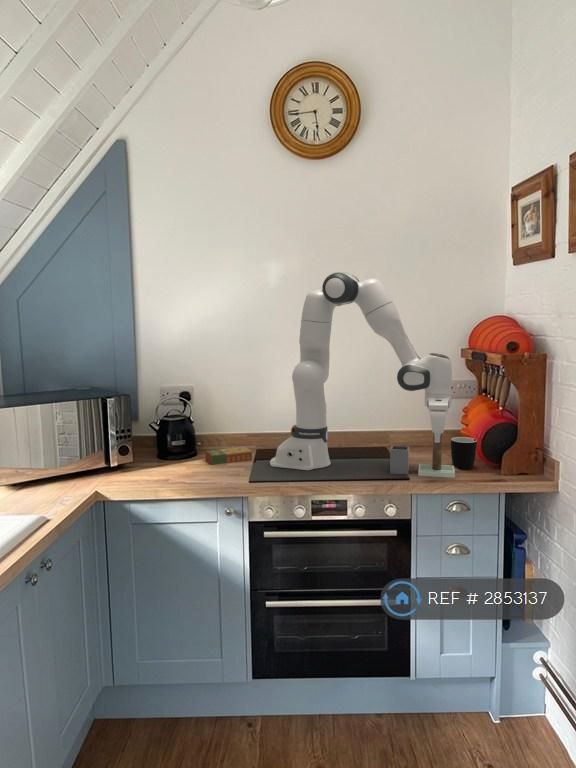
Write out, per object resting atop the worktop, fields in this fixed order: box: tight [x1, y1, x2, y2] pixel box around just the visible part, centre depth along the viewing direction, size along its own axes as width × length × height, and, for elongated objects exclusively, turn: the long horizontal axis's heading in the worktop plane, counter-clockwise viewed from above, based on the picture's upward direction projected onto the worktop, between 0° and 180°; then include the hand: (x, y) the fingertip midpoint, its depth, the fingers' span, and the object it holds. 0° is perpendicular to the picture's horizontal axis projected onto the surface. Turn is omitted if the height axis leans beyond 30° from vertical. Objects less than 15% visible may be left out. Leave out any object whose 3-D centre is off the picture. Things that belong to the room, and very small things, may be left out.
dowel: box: [431, 432, 443, 470], centre depth 207 cm, size 3×3×14 cm
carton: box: [204, 446, 253, 466], centre depth 229 cm, size 8×16×4 cm, turn 113°
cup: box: [389, 445, 410, 475], centre depth 209 cm, size 6×6×9 cm
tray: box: [417, 463, 456, 479], centre depth 208 cm, size 12×10×2 cm
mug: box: [450, 436, 478, 470], centre depth 218 cm, size 12×9×10 cm
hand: (437, 440), depth 206 cm, fingers closed on dowel, 3 cm apart
